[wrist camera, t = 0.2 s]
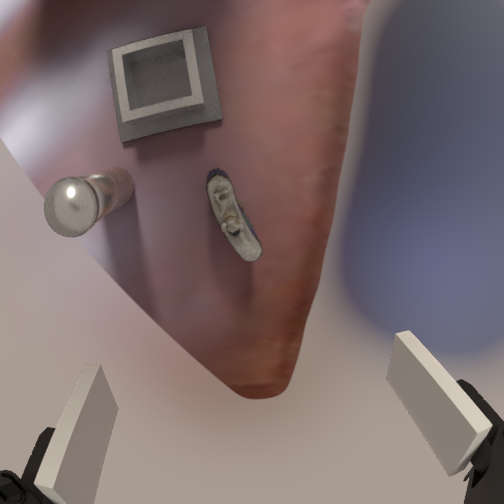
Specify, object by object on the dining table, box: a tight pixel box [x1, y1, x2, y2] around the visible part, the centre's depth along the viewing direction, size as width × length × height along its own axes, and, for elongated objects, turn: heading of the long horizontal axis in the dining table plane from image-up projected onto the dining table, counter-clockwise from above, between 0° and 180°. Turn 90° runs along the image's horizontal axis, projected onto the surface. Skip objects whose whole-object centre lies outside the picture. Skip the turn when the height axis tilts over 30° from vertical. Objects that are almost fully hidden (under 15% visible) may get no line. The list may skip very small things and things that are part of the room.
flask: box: [206, 168, 263, 262], centre depth 33 cm, size 9×3×11 cm, turn 26°
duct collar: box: [108, 26, 223, 143], centre depth 30 cm, size 12×12×5 cm
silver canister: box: [44, 168, 134, 237], centre depth 29 cm, size 5×5×14 cm
